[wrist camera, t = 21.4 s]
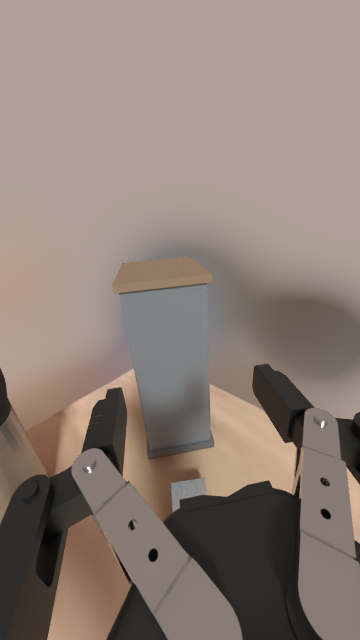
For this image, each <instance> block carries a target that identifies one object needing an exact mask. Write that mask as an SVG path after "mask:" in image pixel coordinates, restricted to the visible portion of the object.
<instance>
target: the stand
mask: <svg viewBox="0 0 360 640" xmlns="http://www.w3.org/2000/svg"><path fill="white" fill-rule="evenodd" d="M210 282H212V274H211V273H210V272H209V271H207V270H206V269H205V268H203V267H202V266H201V265H200V264H199V263H198V262H196V261H195V260H194V259H193V258H191V257H180V258H170V259H160V260H150V261H140V262H130V263H123V264H122V265H121V268H120V270H119V272H118V274H117V276H116V279H115V281H114V283H113V285H112V286H113V291H114V293H119V295H120V300H121V305H122V311H123V315H124V320H125V325H126V330H127V336H128V341H129V346H130V351H131V356H132V361H133V366H134V371H135V376H136V381H137V386H138V391H139V396H140V401H141V406H142V411H143V416H144V422H145V427H146V432H147V453H148V459H153V458H159V457H164V456H169V455H174V454H179V453H185V452H190V451H195V450H200V449H205V448H210V447H214V440H213V436H212V433H211V430H210V389H209V344H208V301H207V299H208V298H207V283H210Z"/></svg>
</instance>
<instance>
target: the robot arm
mask: <svg viewBox="0 0 360 640" xmlns="http://www.w3.org/2000/svg"><path fill="white" fill-rule="evenodd" d="M252 386H253V391H254V394H255V396H256V398H257V399H258V401H259V402H260V404H261V405H262V407H263V409H264V410H265V412H266V414H267V415H268V417H269V418H270V420H271V422H272V423H273V425H274V426H275V428H276V430H277V431H278V433H279V434H280V436H281V438H282V439H283V441H284V442H285V443H289V442H293V443H294V444H295V446H296V447H297V449H296V457H295V469H294V480H293V488H292V494H290V493H288V492H286V491H283V490H280V489H275V488H272V486H271V484H270V481H264V482H259V483H255V484H250V485H247V486H245V487H243V488H242V489H240V490H238V491H237V492H235V493H233V494H231V495H230V496H227V497H221V496H209V495H199V496H194V497H190V498H185V499H180V500H179V502H180V508H179V509H177V510H175V511H174V512H173V513H171V514H170V515H169V516H168V517H167V518H166V519H165V520H164V522H162V521H161V520H160V519H159V517H158V516H157V515H156V514H155V512H154V511H153V510H152V509H151V507H150V506H149V505H148V503H147V502H146V501H145V500H144V498H143V497H142V496H141V495H140V493H139V492H138V491H137V489H136V488H135V487H134V486H133V485H132V483H130V482H129V481H128V482H126V481H125V480H124V478H123V477H122V476H123V463H124V450H125V437H126V425H127V408H126V404H125V400H124V395H123V391H122V388H121V387H119V388H113V389H108V390H107V394H106V398H105V399H104V400H99V401H98V402H97V403H96V405H95V406H94V407H93V410H92V414H91V418H90V422H89V425H88V429H87V433H86V437H85V441H84V445H83V449H82V452H81V454H80V455H79V456H78V457H77V458H76V460H75V461H74V463H73V465H72V466H71V467H70V468H68V469H67V470H65V471H63V472H61V473H59V474H57V475H55V476H53V477H51V478H50V477H49V475H48V473H47V471H46V469H45V468H44V466H43V464H42V462H41V460H40V458H39V456H38V454H37V452H36V450H35V449H34V447H33V445H32V443H31V441H30V439H29V437H28V436H27V434H26V432H25V430H24V428H23V426H22V424H21V423H20V421H19V419H18V417H17V415H16V413H15V412H14V410H13V408H12V406H11V404H10V402H9V400H8V398H7V390H6V383H5V379H4V375H3V373H2V371H1V369H0V640H47V638H48V632H49V627H50V622H51V616H52V611H53V606H54V601H55V595H56V590H57V585H58V580H59V574H60V569H61V564H62V559H63V553H64V548H65V543H66V537H67V532H68V528H69V527H70V526H72V525H74V524H75V523H77V522H79V521H81V520H82V519H84V518H86V517H87V516H89V515H91V516H92V517H93V519H94V521H95V523H96V525H97V526H98V528H99V530H100V532H101V534H102V535H103V537H104V539H105V541H106V542H107V544H108V546H109V548H110V550H111V552H112V554H113V556H114V558H115V559H116V561H117V563H118V565H119V567H120V569H121V571H122V572H123V574H124V576H125V578H126V580H127V581H128V583H129V585H130V587H131V588H130V590H129V592H128V594H127V597H126V599H125V601H124V603H123V605H122V607H121V609H120V612H119V614H118V616H117V618H116V620H115V622H114V624H113V627H112V629H111V631H110V633H109V635H108V637H107V639H106V640H360V544H359V543H358V542H357V541H355V540H354V534H353V525H352V515H351V506H350V497H349V487H348V478H347V469H346V467H347V468H348V469H349V471H350V472H351V473H352V475H353V476H354V477H355V479H356V480H357V481H358V483H359V484H360V412H359V413H357V414H356V415H355V416H354V419H353V420H350V419H340V418H334V417H333V416H332V415H331V414H330V413H328V412H327V411H325V410H322V409H318V408H314V407H313V405H312V404H311V403H310V402H309V401H308V400H307V399H306V398H305V397H304V395H303V394H302V393H301V392H300V391H299V390H298V389H297V388H296V387H295V385H294V384H293V383H292V382H291V381H290V380H289V379H288V377H287V376H286V375H284V374H282V373H281V372H279V371H274V370H273V369H272V368H271V367H270V365H268V364H262V365H256V366H254V374H253V385H252Z"/></svg>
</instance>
